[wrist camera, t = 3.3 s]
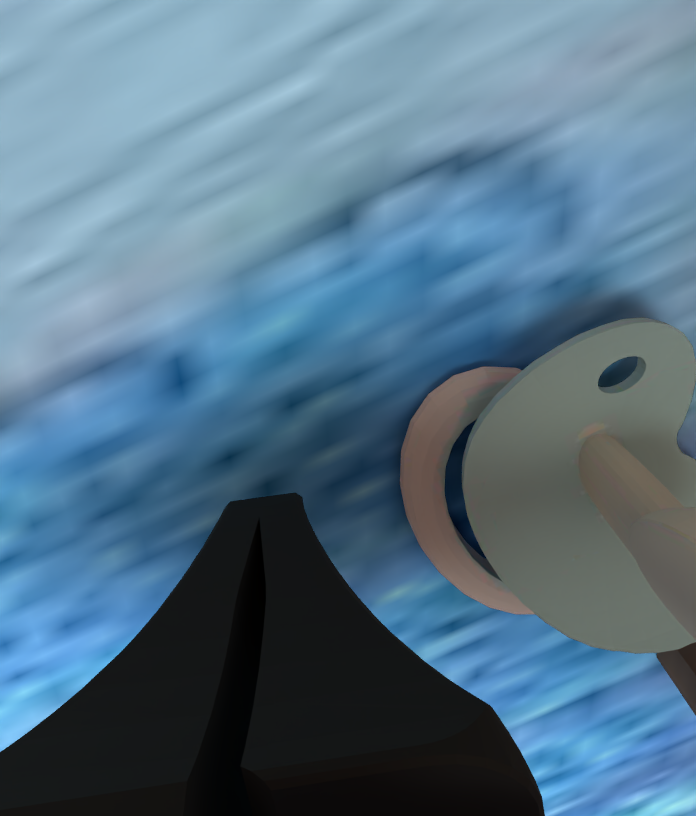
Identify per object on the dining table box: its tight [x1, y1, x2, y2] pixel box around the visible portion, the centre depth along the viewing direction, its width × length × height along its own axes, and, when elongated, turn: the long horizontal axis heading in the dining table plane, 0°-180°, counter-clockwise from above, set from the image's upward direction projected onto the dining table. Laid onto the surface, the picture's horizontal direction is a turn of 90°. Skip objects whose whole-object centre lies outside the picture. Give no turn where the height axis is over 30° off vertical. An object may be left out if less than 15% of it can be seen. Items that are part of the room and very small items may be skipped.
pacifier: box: [400, 318, 696, 654], centre depth 11 cm, size 7×6×6 cm
